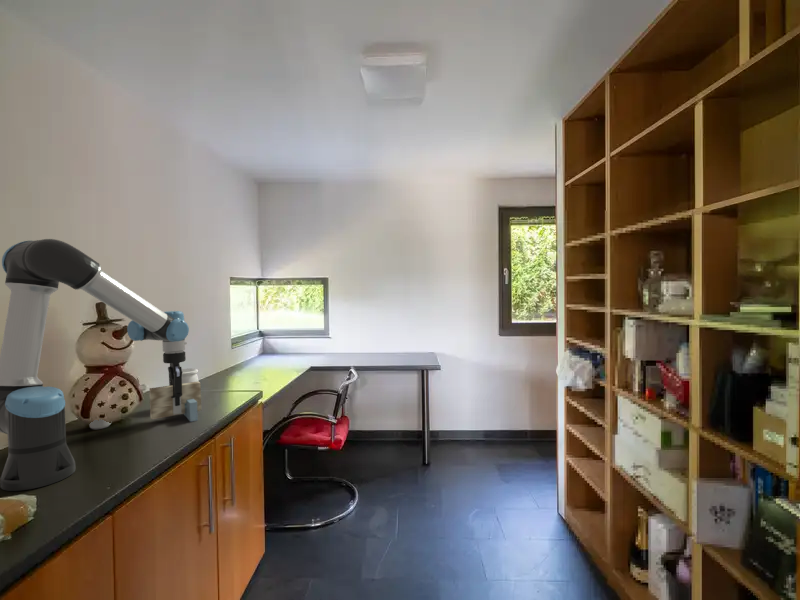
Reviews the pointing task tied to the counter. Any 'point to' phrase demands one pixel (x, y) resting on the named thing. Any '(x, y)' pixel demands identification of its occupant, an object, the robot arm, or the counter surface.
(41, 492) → the counter surface
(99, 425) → the beverage can
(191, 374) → the jar
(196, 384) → the birch plate
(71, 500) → the counter surface
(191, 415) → the blue board
